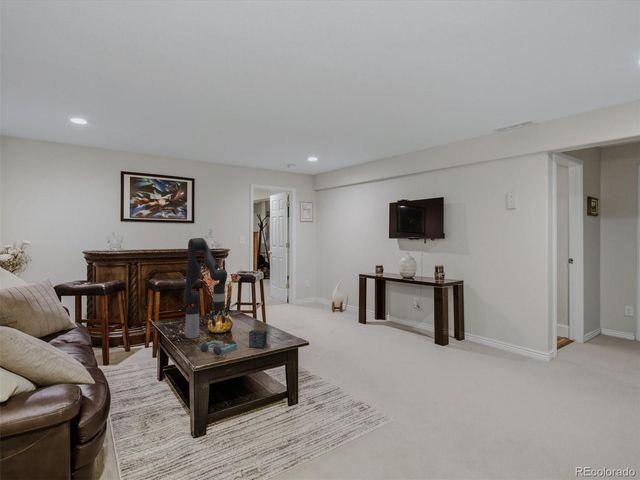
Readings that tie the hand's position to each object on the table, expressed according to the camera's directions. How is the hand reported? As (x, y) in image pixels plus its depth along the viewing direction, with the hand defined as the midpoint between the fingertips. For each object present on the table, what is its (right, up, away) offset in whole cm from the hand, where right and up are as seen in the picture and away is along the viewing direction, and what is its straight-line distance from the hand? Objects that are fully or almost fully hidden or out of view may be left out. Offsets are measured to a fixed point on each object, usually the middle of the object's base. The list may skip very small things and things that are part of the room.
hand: (218, 324), depth 231 cm
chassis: (0, -16, 0) cm, 16 cm away
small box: (+25, -17, +6) cm, 30 cm away
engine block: (0, -16, 0) cm, 16 cm away
